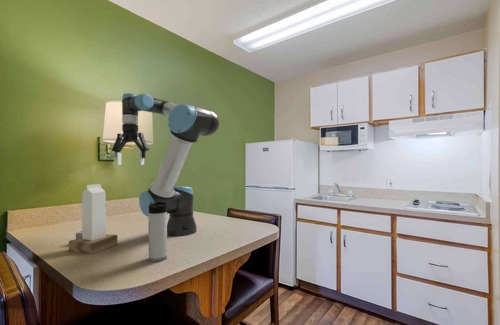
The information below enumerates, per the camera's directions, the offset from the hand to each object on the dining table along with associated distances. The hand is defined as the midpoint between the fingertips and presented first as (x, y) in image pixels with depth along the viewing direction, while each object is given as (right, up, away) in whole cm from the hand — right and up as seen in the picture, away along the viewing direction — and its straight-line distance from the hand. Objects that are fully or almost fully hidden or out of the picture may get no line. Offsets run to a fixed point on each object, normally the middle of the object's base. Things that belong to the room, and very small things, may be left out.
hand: (130, 164), depth 132 cm
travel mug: (+29, -34, -40) cm, 60 cm away
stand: (-2, -34, -28) cm, 44 cm away
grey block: (-10, -34, -21) cm, 41 cm away
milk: (-2, -30, -28) cm, 41 cm away
